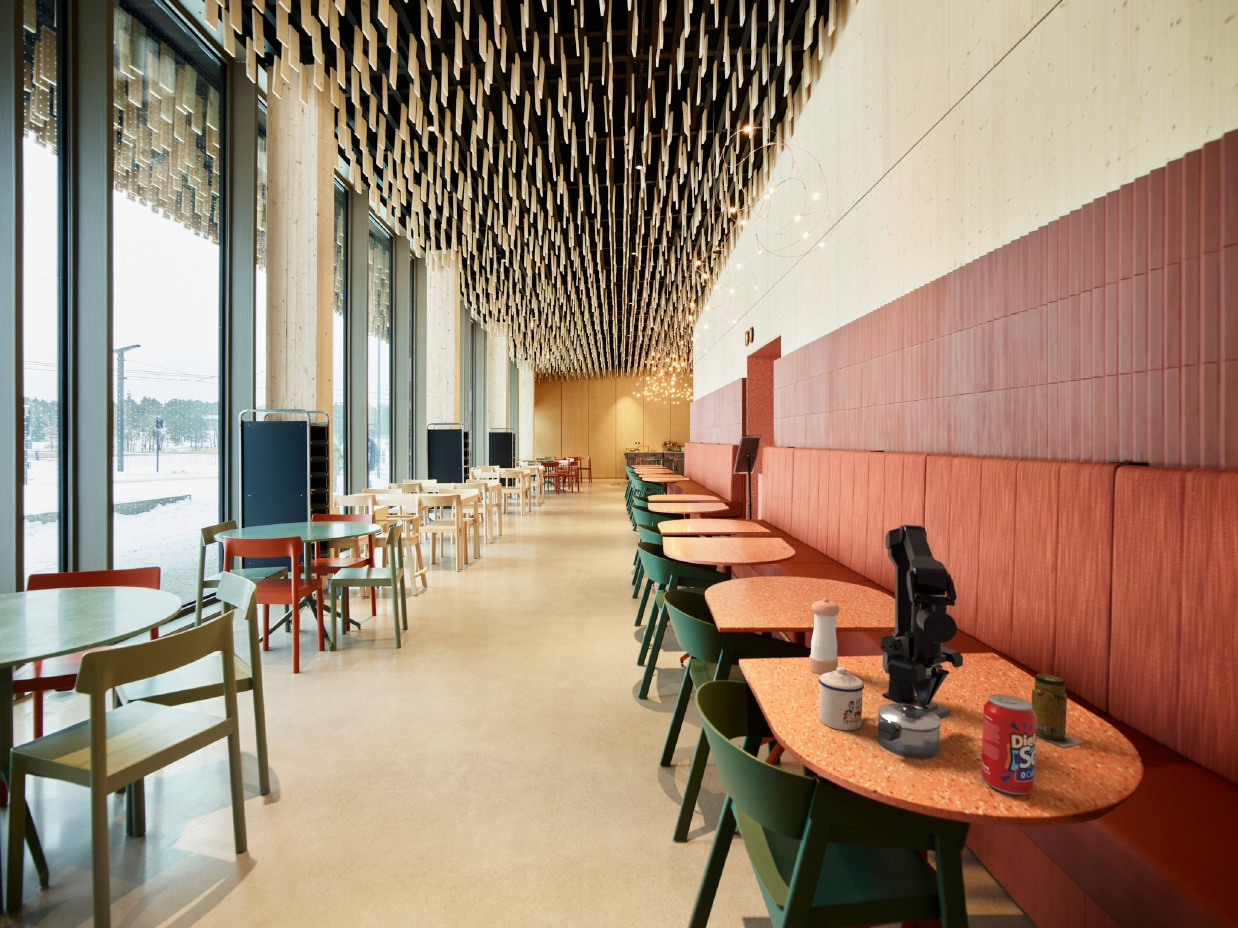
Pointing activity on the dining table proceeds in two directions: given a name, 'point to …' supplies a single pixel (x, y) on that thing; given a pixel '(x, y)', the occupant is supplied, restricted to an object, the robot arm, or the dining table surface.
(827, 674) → the teacup with lid
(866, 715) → the dining table surface
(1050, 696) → the condiment
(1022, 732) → the soda can
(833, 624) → the pepper shaker
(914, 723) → the lid
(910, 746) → the pot
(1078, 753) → the dining table surface
